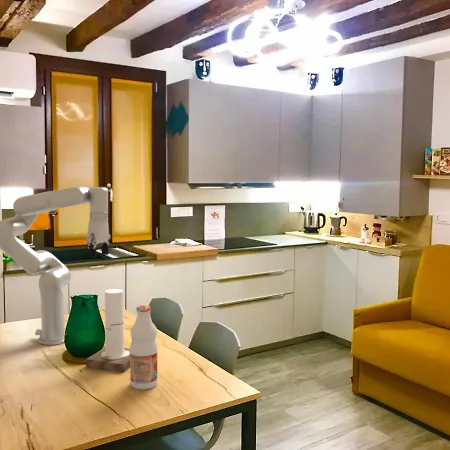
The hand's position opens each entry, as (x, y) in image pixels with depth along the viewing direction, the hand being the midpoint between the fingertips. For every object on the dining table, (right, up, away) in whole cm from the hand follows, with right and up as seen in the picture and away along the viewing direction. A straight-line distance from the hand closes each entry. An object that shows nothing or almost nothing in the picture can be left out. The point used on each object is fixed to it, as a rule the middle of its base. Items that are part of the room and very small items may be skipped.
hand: (98, 256), depth 225 cm
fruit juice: (+25, -43, -39) cm, 64 cm away
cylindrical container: (+11, -37, -19) cm, 43 cm away
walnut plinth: (+11, -40, -18) cm, 46 cm away
